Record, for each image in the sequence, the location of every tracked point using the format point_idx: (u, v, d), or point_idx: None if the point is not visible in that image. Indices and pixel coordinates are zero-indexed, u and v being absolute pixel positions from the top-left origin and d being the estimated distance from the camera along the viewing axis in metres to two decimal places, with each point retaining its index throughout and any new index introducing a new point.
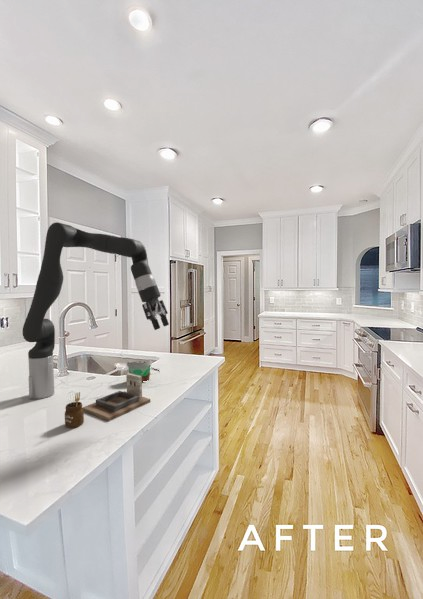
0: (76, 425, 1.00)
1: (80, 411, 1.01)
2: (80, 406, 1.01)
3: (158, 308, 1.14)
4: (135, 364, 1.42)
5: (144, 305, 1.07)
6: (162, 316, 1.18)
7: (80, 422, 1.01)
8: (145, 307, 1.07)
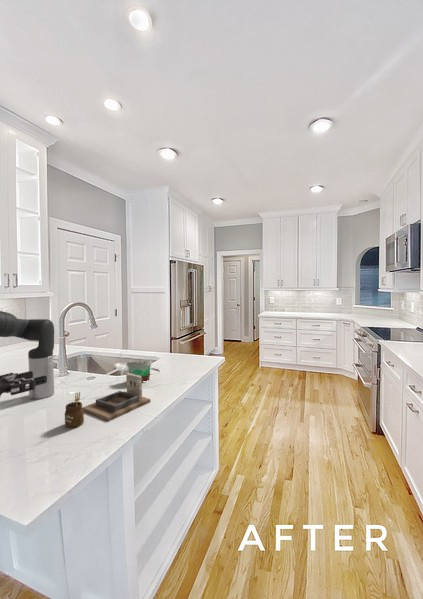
0: (76, 425, 1.00)
1: (80, 411, 1.01)
2: (80, 406, 1.01)
3: None
4: (135, 364, 1.42)
5: None
6: None
7: (80, 422, 1.01)
8: None
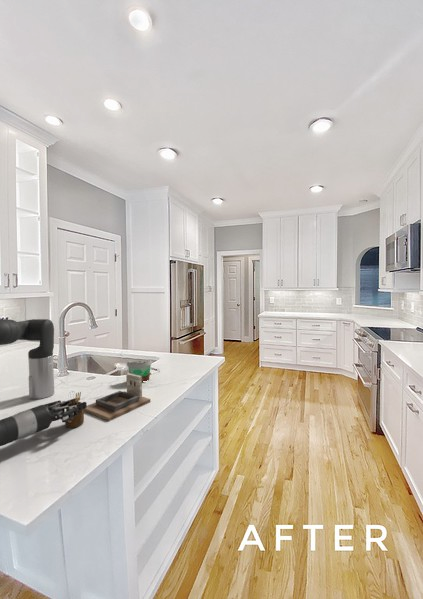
0: (76, 425, 1.00)
1: (80, 411, 1.01)
2: None
3: None
4: (135, 364, 1.42)
5: None
6: None
7: (80, 422, 1.01)
8: None
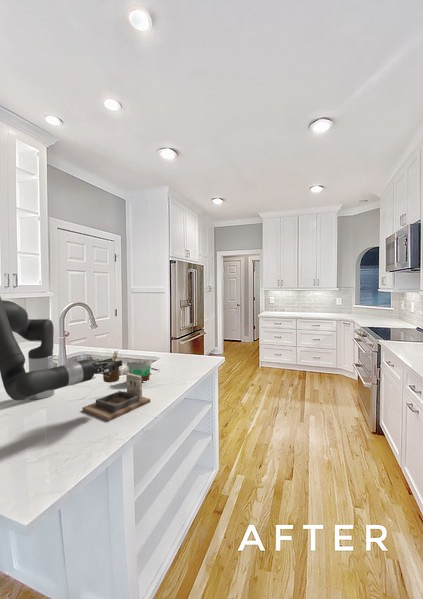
0: (113, 380, 1.12)
1: (117, 368, 1.13)
2: None
3: None
4: (135, 364, 1.42)
5: None
6: None
7: (117, 378, 1.13)
8: None
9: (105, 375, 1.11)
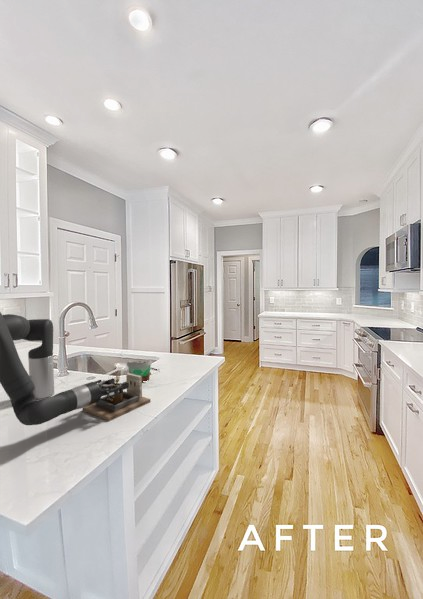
0: (117, 403, 1.15)
1: None
2: None
3: None
4: (135, 364, 1.42)
5: None
6: None
7: (120, 400, 1.16)
8: None
9: (109, 398, 1.14)
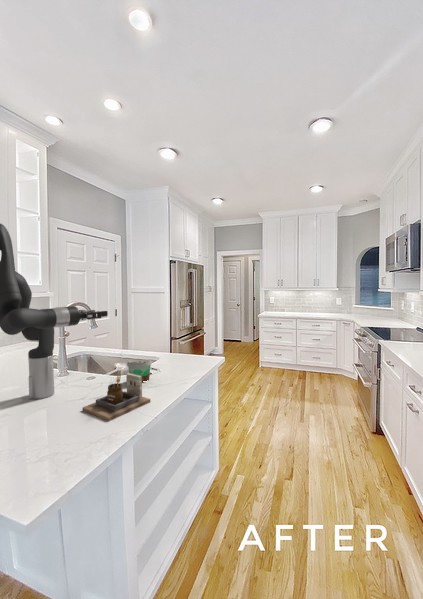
0: (117, 403, 1.15)
1: (120, 391, 1.16)
2: (120, 387, 1.16)
3: None
4: (135, 364, 1.42)
5: None
6: None
7: (120, 400, 1.16)
8: None
9: (109, 398, 1.14)
